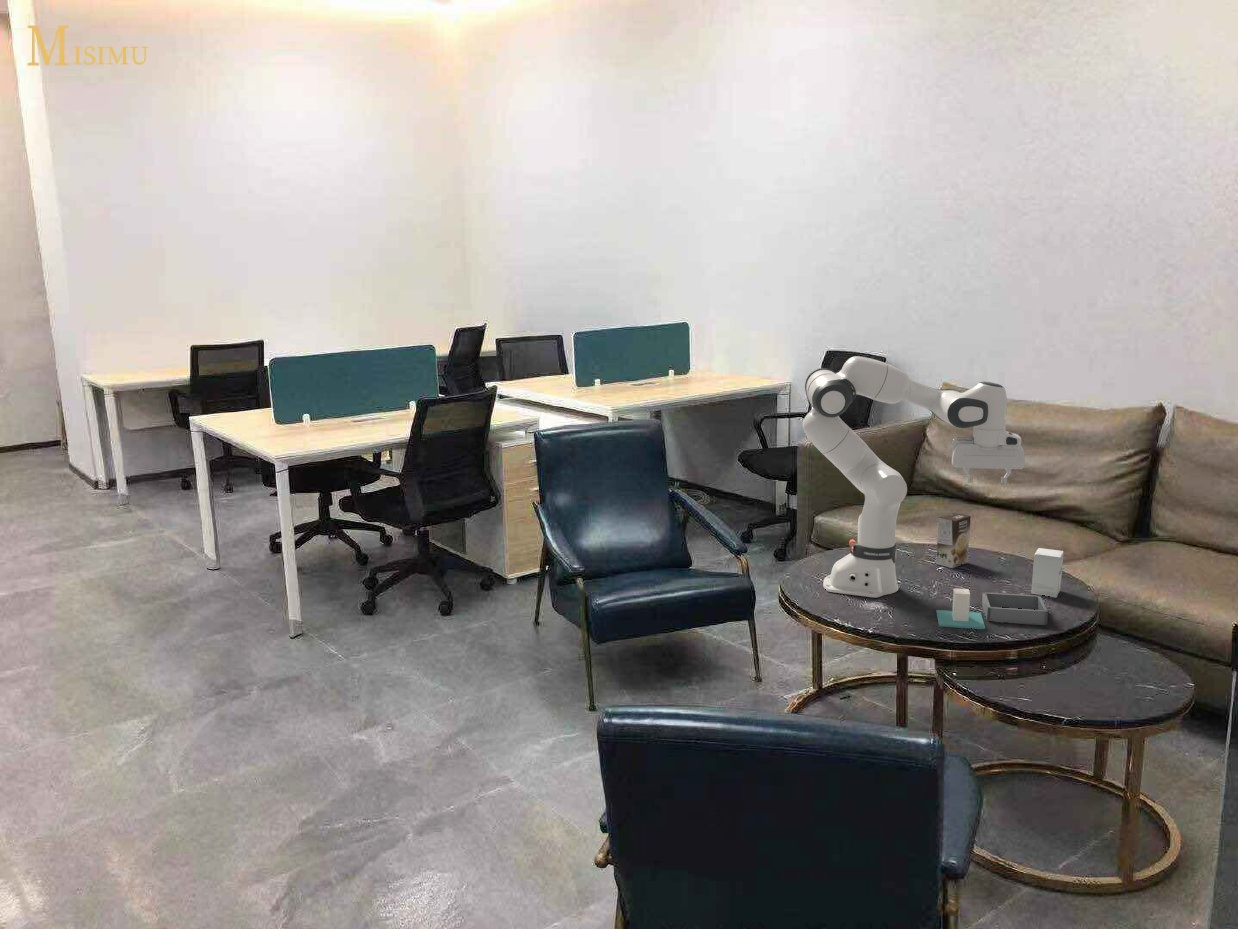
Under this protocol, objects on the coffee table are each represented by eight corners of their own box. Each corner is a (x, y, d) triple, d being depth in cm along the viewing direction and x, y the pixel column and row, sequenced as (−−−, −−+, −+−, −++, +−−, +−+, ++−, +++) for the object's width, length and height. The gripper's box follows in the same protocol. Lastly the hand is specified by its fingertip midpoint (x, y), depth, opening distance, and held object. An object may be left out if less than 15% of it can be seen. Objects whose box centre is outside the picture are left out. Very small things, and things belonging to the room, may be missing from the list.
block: (953, 620, 275) (954, 593, 274) (952, 615, 279) (953, 588, 277) (968, 621, 274) (970, 594, 273) (966, 616, 278) (968, 589, 276)
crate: (987, 621, 276) (987, 607, 275) (981, 605, 288) (982, 592, 287) (1046, 625, 272) (1048, 611, 271) (1039, 608, 284) (1040, 595, 283)
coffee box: (952, 568, 320) (955, 521, 316) (935, 564, 324) (937, 517, 321) (968, 562, 325) (971, 515, 322) (951, 558, 330) (953, 511, 326)
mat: (939, 626, 273) (939, 624, 273) (936, 611, 284) (936, 610, 283) (985, 629, 270) (985, 627, 270) (980, 614, 281) (980, 612, 281)
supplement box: (1057, 598, 292) (1060, 557, 289) (1030, 594, 296) (1033, 553, 293) (1061, 590, 298) (1064, 550, 296) (1034, 586, 302) (1038, 547, 299)
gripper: (952, 438, 290) (950, 484, 293) (1027, 439, 284) (1024, 486, 287) (951, 434, 296) (949, 479, 299) (1024, 435, 290) (1021, 481, 293)
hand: (986, 482), depth 293 cm, fingers open, 8 cm apart
